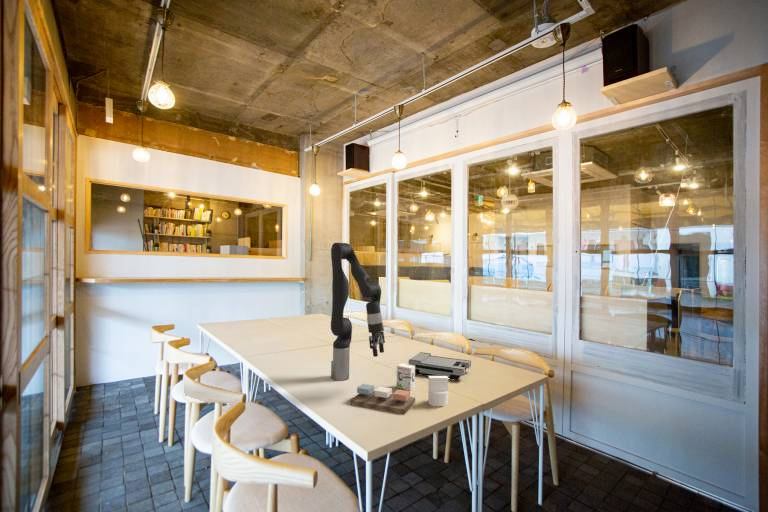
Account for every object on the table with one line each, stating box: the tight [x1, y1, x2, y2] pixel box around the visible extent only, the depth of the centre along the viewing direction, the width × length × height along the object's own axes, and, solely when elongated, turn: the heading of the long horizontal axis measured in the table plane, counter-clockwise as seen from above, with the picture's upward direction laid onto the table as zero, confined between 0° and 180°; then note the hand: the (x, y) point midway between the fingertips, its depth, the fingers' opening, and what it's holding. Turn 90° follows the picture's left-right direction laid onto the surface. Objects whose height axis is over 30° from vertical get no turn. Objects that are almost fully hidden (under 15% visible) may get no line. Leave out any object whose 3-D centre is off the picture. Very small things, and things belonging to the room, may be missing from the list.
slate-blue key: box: [356, 383, 375, 395], centre depth 169 cm, size 6×6×2 cm
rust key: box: [392, 389, 411, 401], centre depth 162 cm, size 6×6×2 cm
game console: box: [408, 351, 472, 380], centre depth 213 cm, size 21×32×8 cm, turn 65°
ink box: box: [396, 362, 416, 392], centre depth 185 cm, size 9×5×12 cm, turn 58°
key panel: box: [350, 390, 416, 415], centre depth 165 cm, size 26×15×4 cm, turn 68°
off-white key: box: [374, 386, 393, 398], centre depth 165 cm, size 6×6×2 cm
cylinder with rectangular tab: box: [427, 376, 449, 407], centre depth 167 cm, size 9×9×12 cm
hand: (378, 354), depth 182 cm, fingers open, 8 cm apart
